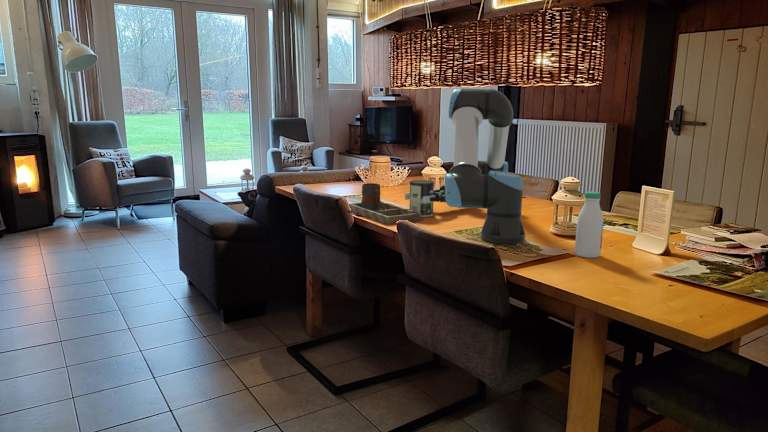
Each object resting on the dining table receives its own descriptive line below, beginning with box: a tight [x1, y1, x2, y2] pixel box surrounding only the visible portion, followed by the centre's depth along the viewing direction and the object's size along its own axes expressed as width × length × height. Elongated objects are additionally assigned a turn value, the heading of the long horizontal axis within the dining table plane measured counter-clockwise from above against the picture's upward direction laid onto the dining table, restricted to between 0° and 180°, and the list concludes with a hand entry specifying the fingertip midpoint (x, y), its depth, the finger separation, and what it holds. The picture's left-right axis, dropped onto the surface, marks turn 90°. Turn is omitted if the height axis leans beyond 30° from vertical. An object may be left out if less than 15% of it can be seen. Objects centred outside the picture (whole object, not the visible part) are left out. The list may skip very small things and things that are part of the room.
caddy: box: [348, 200, 422, 226], centre depth 231 cm, size 32×16×3 cm, turn 32°
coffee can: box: [408, 179, 435, 218], centre depth 232 cm, size 10×10×14 cm
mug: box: [360, 182, 382, 211], centre depth 237 cm, size 9×12×12 cm
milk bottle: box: [574, 190, 604, 259], centre depth 173 cm, size 8×8×20 cm
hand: (414, 198), depth 229 cm, fingers closed on coffee can, 10 cm apart
